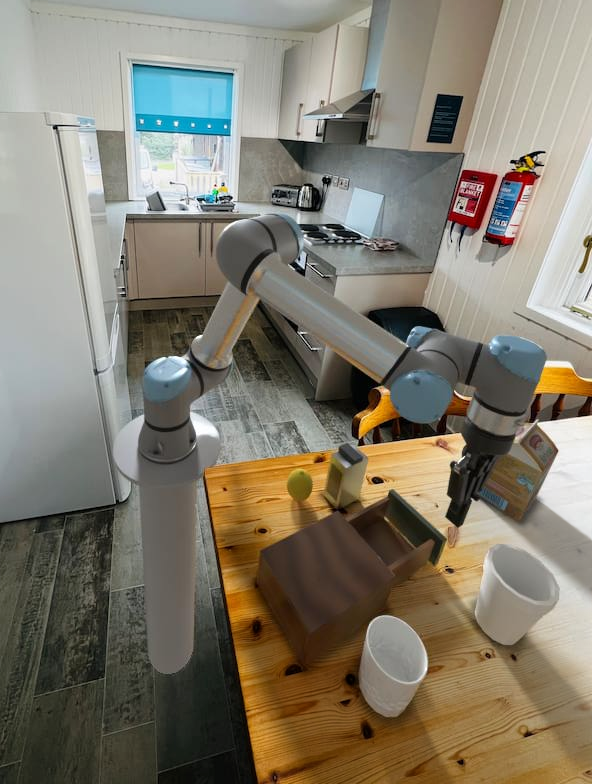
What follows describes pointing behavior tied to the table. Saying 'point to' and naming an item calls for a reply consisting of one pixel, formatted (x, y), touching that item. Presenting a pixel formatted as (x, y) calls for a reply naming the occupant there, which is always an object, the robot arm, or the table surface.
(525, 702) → the table surface
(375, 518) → the drawer
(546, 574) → the foam cup
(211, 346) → the robot arm
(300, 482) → the lemon
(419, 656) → the white cup
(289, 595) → the cabinet
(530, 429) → the milk carton
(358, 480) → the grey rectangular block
